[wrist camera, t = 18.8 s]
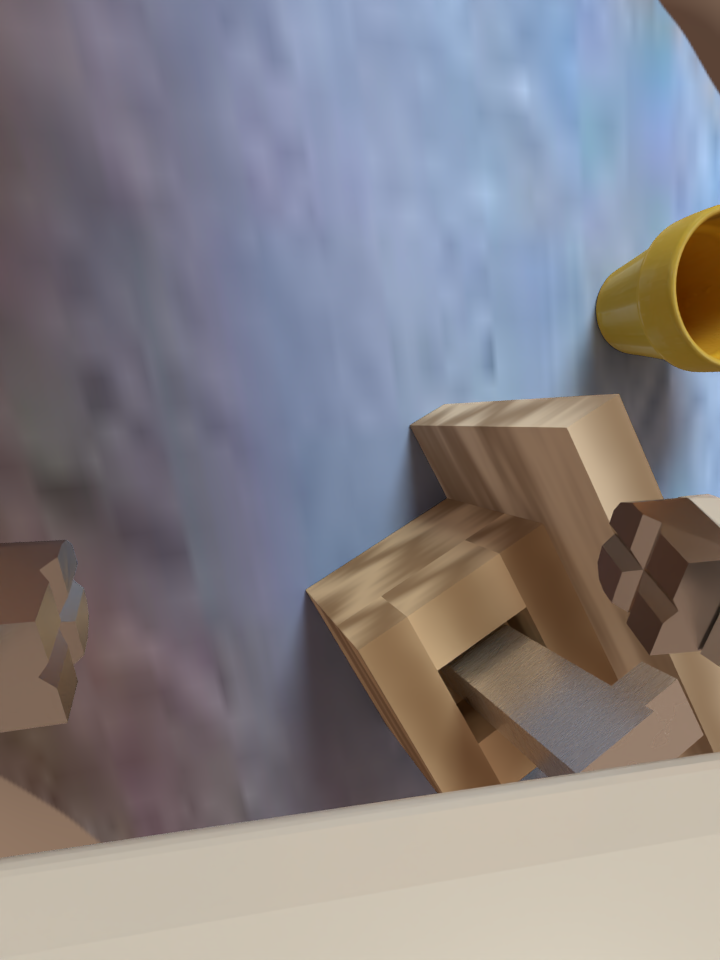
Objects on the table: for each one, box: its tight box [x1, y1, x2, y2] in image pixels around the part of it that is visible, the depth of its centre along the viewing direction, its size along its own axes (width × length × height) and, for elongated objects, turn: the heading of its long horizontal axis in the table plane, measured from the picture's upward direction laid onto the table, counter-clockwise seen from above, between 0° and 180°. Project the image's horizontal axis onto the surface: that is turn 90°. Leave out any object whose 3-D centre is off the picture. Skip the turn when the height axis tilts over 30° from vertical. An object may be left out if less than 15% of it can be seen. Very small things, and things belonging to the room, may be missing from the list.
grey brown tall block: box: [441, 623, 703, 777], centre depth 32 cm, size 6×3×14 cm, turn 120°
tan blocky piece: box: [306, 394, 720, 793], centre depth 38 cm, size 15×24×18 cm, turn 30°
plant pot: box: [596, 205, 720, 372], centre depth 44 cm, size 10×10×10 cm
